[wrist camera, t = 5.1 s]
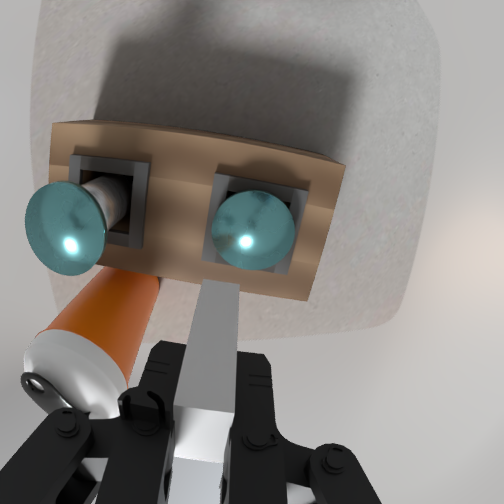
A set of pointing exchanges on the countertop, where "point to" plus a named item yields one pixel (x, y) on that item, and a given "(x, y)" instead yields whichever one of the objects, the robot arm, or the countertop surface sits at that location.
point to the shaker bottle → (91, 345)
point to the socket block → (199, 198)
